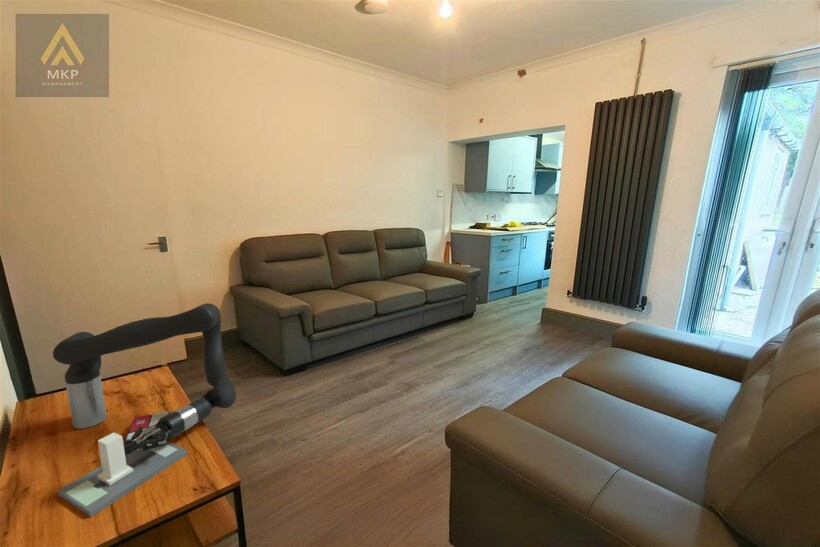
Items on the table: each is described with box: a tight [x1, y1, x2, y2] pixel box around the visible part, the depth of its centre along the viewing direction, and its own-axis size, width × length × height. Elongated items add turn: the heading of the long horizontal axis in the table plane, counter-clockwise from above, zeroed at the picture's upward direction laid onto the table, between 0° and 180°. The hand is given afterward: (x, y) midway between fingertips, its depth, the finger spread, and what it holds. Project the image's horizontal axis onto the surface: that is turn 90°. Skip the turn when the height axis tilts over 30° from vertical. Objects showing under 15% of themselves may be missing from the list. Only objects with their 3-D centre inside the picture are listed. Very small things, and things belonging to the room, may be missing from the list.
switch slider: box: [97, 432, 133, 485], centre depth 104 cm, size 6×6×12 cm
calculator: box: [124, 410, 171, 446], centre depth 126 cm, size 11×4×15 cm
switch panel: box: [56, 440, 188, 518], centre depth 108 cm, size 16×26×2 cm, turn 156°
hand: (120, 453), depth 106 cm, fingers closed
